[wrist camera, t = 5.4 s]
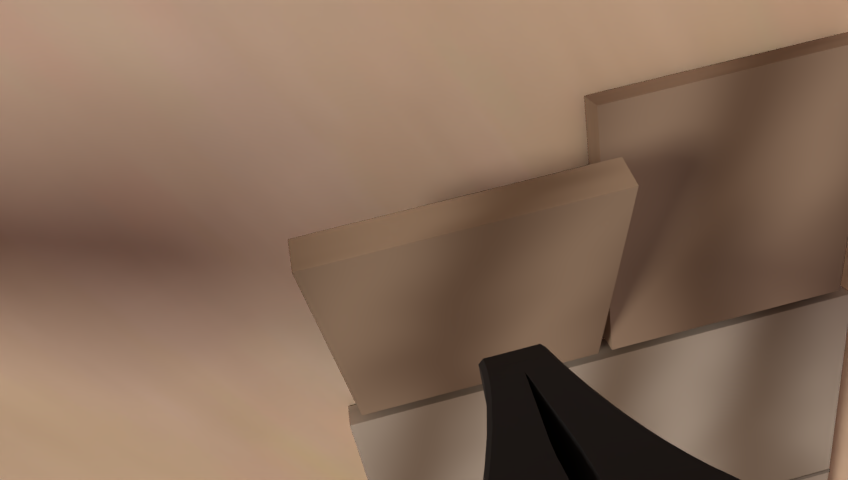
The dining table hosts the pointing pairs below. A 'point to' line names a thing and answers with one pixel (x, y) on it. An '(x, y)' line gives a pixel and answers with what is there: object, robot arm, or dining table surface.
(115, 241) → the dining table surface
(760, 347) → the grey slab
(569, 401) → the robot arm
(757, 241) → the plank
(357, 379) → the plank
